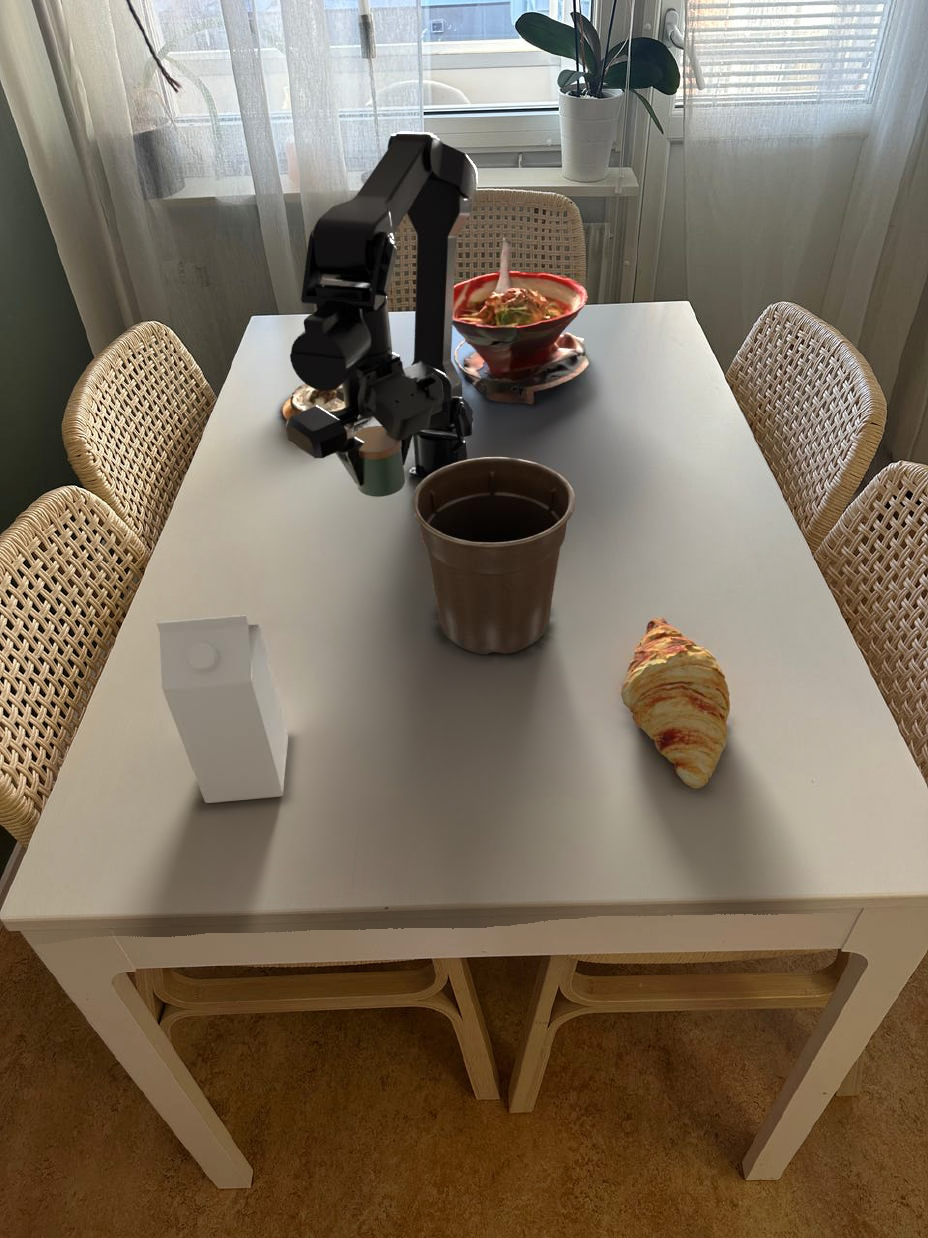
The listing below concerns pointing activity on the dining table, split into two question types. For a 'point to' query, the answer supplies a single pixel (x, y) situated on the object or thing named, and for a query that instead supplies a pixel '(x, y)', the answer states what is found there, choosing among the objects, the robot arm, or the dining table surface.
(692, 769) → the croissant
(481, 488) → the plant pot
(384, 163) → the robot arm
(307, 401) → the stacked pancakes
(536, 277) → the stew
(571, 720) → the dining table surface
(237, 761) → the milk carton
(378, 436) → the jar
